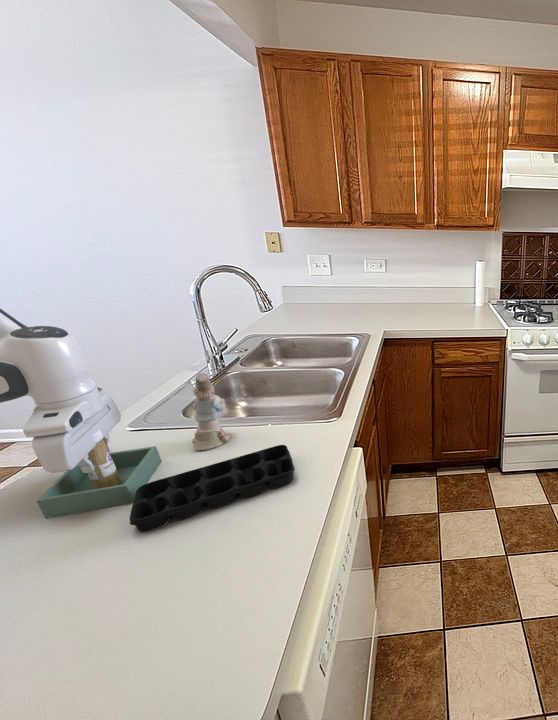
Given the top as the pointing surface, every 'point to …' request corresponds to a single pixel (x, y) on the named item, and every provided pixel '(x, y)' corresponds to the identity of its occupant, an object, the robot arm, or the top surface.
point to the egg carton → (210, 487)
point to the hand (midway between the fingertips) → (97, 462)
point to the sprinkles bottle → (102, 465)
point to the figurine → (208, 415)
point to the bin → (80, 495)
